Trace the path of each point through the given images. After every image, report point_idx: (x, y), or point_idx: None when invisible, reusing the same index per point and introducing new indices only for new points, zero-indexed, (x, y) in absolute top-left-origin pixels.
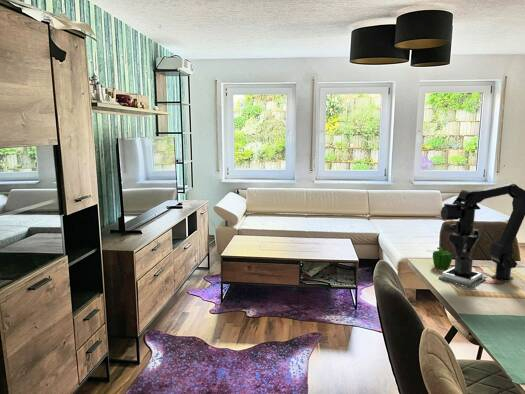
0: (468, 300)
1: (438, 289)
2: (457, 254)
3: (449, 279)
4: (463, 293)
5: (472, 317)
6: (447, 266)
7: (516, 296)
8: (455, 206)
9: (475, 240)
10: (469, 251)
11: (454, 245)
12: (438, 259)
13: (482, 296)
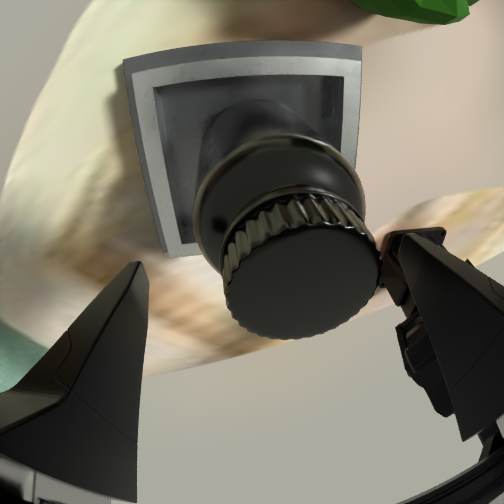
0: (54, 293)
1: (13, 174)
2: (116, 283)
3: (137, 130)
4: (80, 255)
5: (7, 334)
6: (361, 6)
7: (241, 348)
8: None
9: (459, 411)
10: (320, 327)
11: (20, 380)
12: None
13: None
